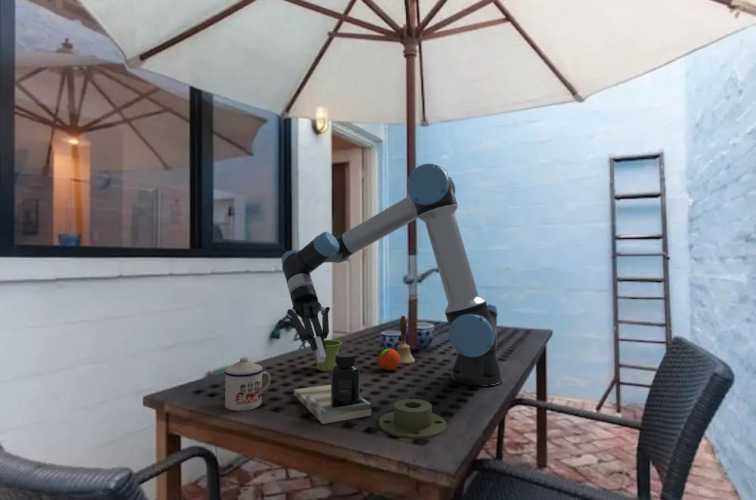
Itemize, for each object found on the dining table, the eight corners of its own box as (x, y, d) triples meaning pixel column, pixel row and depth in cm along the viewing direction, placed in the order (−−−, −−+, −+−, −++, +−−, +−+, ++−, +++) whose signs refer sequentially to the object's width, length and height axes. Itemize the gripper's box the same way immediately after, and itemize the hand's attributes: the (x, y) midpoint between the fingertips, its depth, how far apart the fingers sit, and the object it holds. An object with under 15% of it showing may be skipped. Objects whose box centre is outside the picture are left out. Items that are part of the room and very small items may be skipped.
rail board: (294, 394, 115) (294, 384, 115) (336, 389, 121) (336, 379, 121) (322, 423, 95) (322, 411, 96) (371, 415, 101) (371, 403, 101)
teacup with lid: (235, 414, 101) (236, 364, 101) (217, 404, 107) (218, 357, 107) (279, 402, 109) (280, 356, 109) (260, 394, 115) (261, 350, 116)
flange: (379, 417, 88) (452, 417, 89) (378, 394, 103) (440, 394, 104) (379, 440, 88) (452, 440, 89) (378, 413, 103) (440, 414, 104)
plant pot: (343, 366, 146) (343, 340, 146) (338, 373, 136) (338, 346, 137) (316, 365, 147) (316, 339, 147) (309, 372, 137) (309, 345, 138)
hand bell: (388, 362, 152) (388, 316, 152) (396, 357, 159) (396, 314, 160) (410, 364, 149) (411, 318, 149) (418, 359, 156) (418, 315, 156)
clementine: (389, 374, 136) (390, 352, 136) (372, 371, 140) (372, 349, 140) (403, 369, 142) (404, 347, 142) (386, 366, 146) (386, 345, 146)
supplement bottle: (364, 403, 104) (365, 354, 104) (349, 412, 98) (349, 359, 98) (341, 399, 108) (341, 350, 108) (324, 407, 102) (325, 356, 102)
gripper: (320, 299, 135) (341, 364, 120) (278, 301, 129) (295, 370, 114) (326, 283, 130) (348, 348, 115) (283, 284, 124) (301, 354, 109)
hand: (322, 359), depth 115 cm, fingers closed
